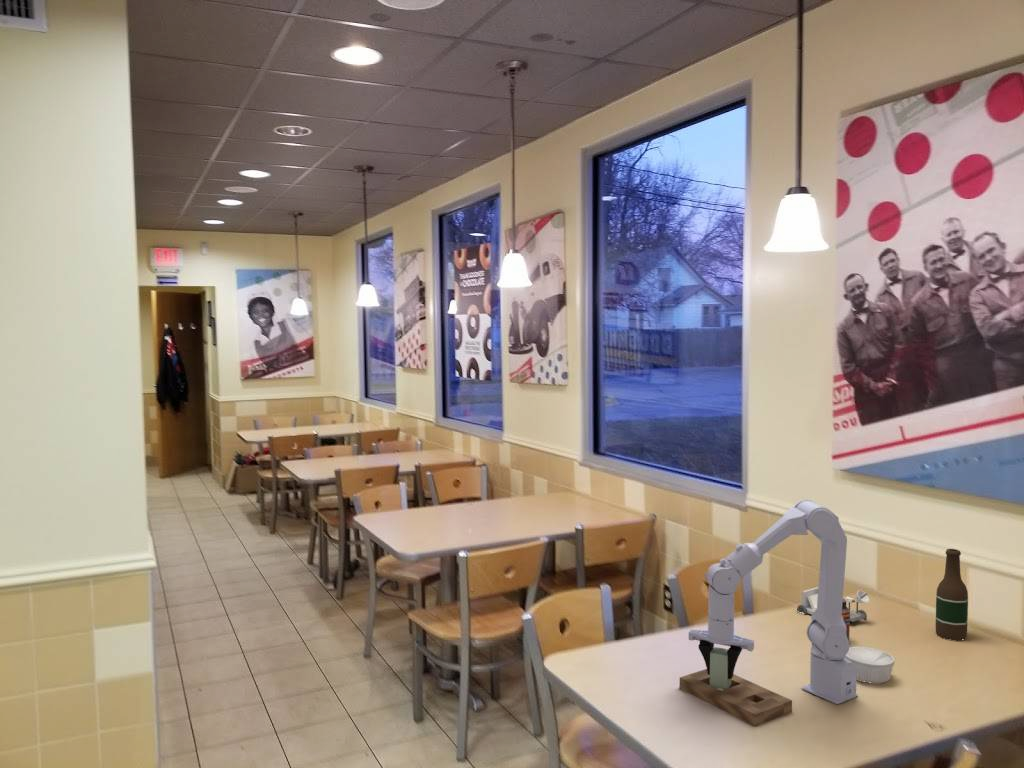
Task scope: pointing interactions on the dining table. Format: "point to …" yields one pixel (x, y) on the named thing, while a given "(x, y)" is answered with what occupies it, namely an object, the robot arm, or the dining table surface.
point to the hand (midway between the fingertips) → (720, 675)
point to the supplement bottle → (846, 617)
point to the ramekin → (871, 664)
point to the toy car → (811, 599)
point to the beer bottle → (952, 600)
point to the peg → (719, 668)
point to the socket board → (738, 698)
